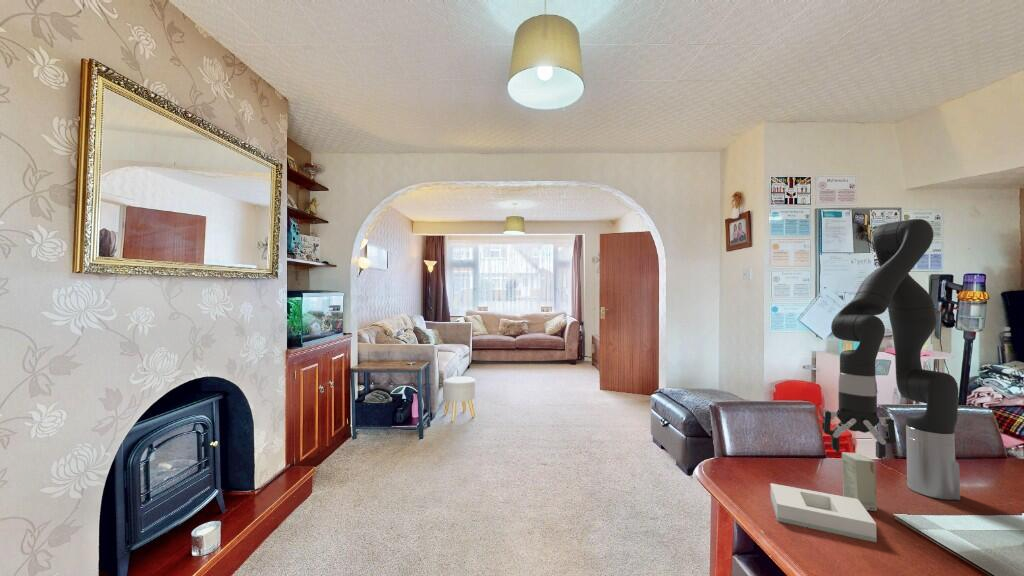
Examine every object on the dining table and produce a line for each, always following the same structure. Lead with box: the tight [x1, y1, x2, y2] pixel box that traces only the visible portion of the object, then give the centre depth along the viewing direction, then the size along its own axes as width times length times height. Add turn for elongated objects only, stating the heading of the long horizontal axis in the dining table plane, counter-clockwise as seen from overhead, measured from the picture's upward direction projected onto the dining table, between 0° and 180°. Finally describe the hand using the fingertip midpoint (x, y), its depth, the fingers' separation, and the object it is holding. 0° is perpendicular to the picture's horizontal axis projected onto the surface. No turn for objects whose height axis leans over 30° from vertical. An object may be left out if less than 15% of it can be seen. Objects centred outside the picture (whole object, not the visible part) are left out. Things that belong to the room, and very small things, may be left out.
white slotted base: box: [769, 482, 878, 543], centre depth 95 cm, size 18×12×4 cm, turn 63°
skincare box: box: [841, 451, 878, 512], centre depth 102 cm, size 6×4×12 cm
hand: (857, 454), depth 102 cm, fingers open, 8 cm apart
